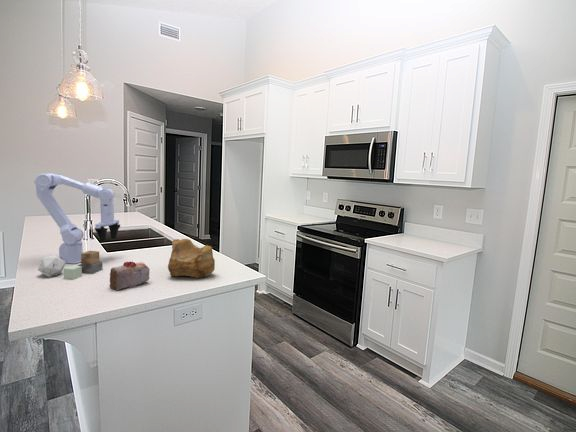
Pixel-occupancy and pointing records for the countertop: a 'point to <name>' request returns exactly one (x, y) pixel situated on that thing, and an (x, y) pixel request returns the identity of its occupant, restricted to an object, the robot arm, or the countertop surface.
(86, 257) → the walnut cube
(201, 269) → the rough brown rock
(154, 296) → the countertop surface
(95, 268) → the charcoal base block
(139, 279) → the food item
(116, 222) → the robot arm
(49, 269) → the pale gray rock
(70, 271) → the sage cube
